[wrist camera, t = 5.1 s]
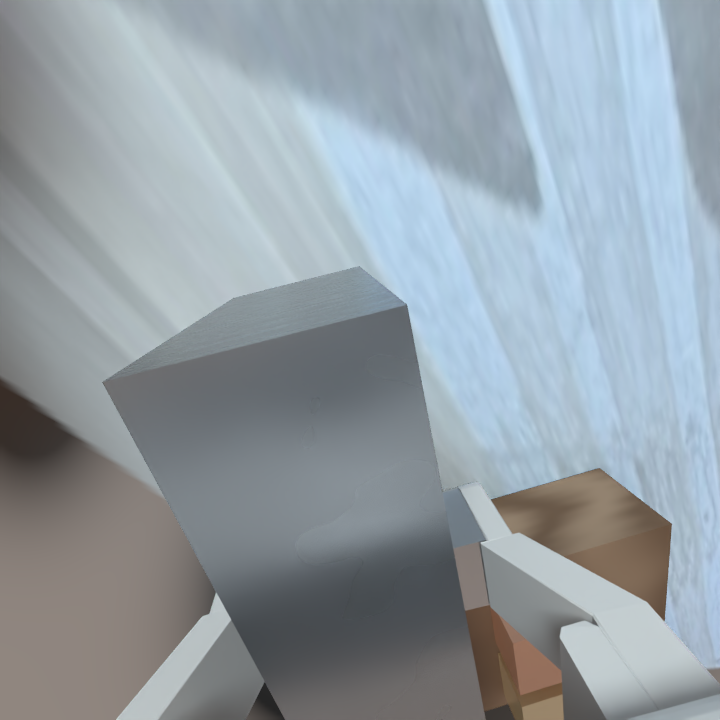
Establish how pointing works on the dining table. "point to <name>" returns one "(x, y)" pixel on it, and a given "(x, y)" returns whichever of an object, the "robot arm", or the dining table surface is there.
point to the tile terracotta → (523, 658)
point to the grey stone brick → (313, 496)
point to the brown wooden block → (580, 550)
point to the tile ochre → (532, 699)
